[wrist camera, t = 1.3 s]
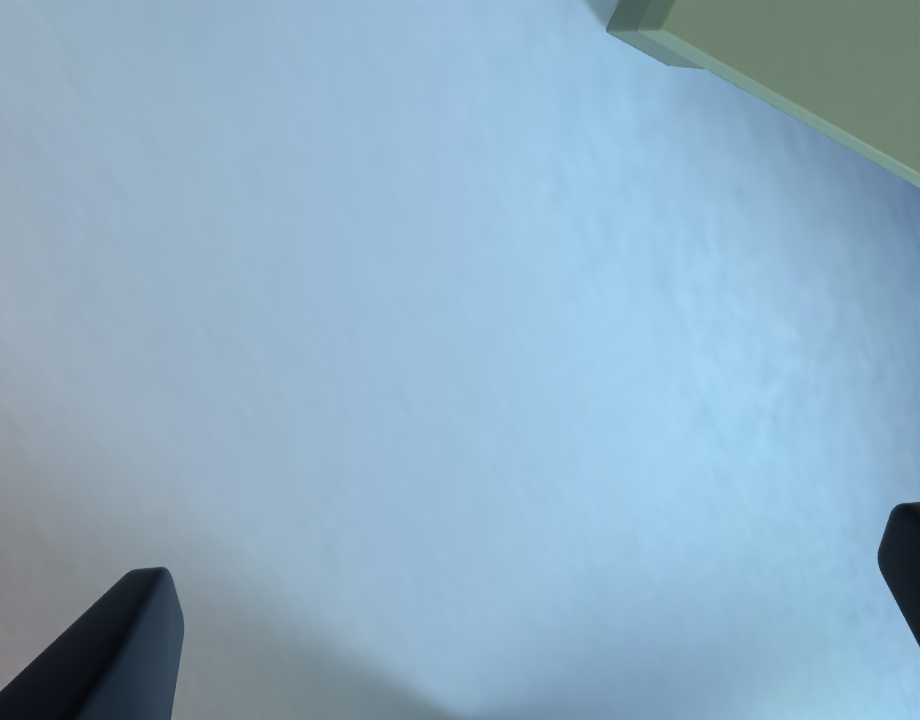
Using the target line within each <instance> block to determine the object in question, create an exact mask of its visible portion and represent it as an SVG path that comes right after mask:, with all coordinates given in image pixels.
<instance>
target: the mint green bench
mask: <svg viewBox="0 0 920 720" xmlns="http://www.w3.org/2000/svg"><path fill="white" fill-rule="evenodd" d="M606 31H607V33H609V34H611V35H613V36H614V37H616V38H618V39H620V40H622V41H624V42H625V43H627V44H629V45H631V46H633V47H634V48H636V49H638V50H640V51H642V52H644V53H645V54H647V55H649V56H651V57H653V58H655V59H656V60H658V61H660V62H662V63H664V64H666V65H667V66H677V67H688V68H698V69H706V70H708V71H710V72H712V73H714V74H715V75H717V76H719V77H721V78H723V79H724V80H726V81H728V82H730V83H732V84H733V85H735V86H737V87H739V88H741V89H742V90H744V91H746V92H748V93H750V94H751V95H753V96H755V97H757V98H759V99H760V100H762V101H764V102H766V103H768V104H769V105H771V106H773V107H775V108H777V109H778V110H780V111H782V112H784V113H786V114H787V115H789V116H791V117H793V118H795V119H796V120H798V121H800V122H802V123H804V124H805V125H807V126H809V127H811V128H813V129H814V130H816V131H818V132H820V133H822V134H823V135H825V136H827V137H829V138H831V139H833V140H834V141H836V142H838V143H840V144H842V145H843V146H845V147H847V148H849V149H851V150H852V151H854V152H856V153H858V154H860V155H861V156H863V157H865V158H867V159H869V160H870V161H872V162H874V163H876V164H878V165H879V166H881V167H883V168H885V169H887V170H888V171H890V172H892V173H894V174H896V175H897V176H899V177H901V178H903V179H905V180H906V181H908V182H910V183H912V184H914V185H915V186H917V187H919V188H920V0H620V2H619V4H618V6H617V8H616V10H615V12H614V14H613V16H612V18H611V20H610V22H609V24H608V26H607V28H606Z"/></svg>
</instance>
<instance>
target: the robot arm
mask: <svg viewBox="0 0 920 720" xmlns="http://www.w3.org/2000/svg"><path fill="white" fill-rule="evenodd" d="M878 564H879V568H880V571H881V573H882V575H883V577H884V579H885V581H886V583H887V585H888V587H889V589H890V591H891V593H892V594H893V596H894V598H895V600H896V602H897V604H898V606H899V608H900V610H901V612H902V614H903V616H904V618H905V620H906V621H907V623H908V625H909V627H910V629H911V631H912V633H913V635H914V637H915V639H916V641H917V643H918V645H919V646H920V502H913V503H902V504H899V505H896V506H895V507H894V508H893V509H892V511H891V513H890V516H889V519H888V522H887V525H886V528H885V531H884V534H883V537H882V540H881V543H880V546H879V550H878ZM183 636H184V619H183V614H182V610H181V607H180V603H179V600H178V596H177V593H176V589H175V586H174V582H173V579H172V576H171V573H170V572H169V570H168V569H166V568H164V567H155V568H143V569H135V570H131V571H130V572H128V573H127V574H125V575H124V576H123V577H122V578H121V579H120V580H119V581H118V582H117V583H116V584H115V585H114V586H113V587H111V588H110V589H109V590H108V591H107V592H106V593H105V594H104V595H103V596H102V597H101V598H100V599H99V600H98V601H97V602H95V603H94V604H93V605H92V606H91V607H90V608H89V609H88V610H87V611H86V612H85V613H84V614H83V615H82V616H81V617H79V618H78V619H77V620H76V621H75V622H74V623H73V624H72V625H71V626H70V627H69V628H68V629H67V630H66V631H65V632H63V633H62V634H61V635H60V636H59V637H58V638H57V639H56V640H55V641H54V642H53V643H52V644H51V645H50V646H48V647H47V648H46V649H45V650H44V651H43V652H42V653H41V654H40V655H39V656H38V657H37V658H36V659H35V660H34V661H32V662H31V663H30V664H29V665H28V666H27V667H26V668H25V669H24V670H23V671H22V672H21V673H20V674H19V675H18V676H16V677H15V678H14V679H13V680H12V681H11V682H10V683H9V684H8V685H7V686H6V687H5V688H4V689H3V690H2V691H0V720H171V714H172V707H173V701H174V694H175V688H176V682H177V675H178V669H179V662H180V656H181V650H182V643H183Z"/></svg>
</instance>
